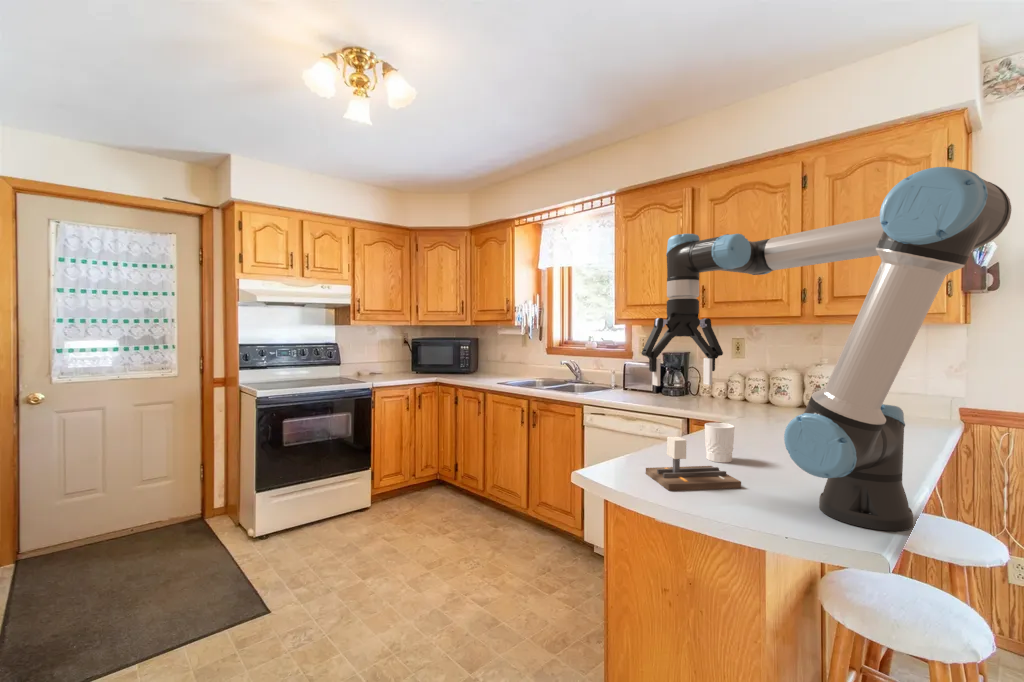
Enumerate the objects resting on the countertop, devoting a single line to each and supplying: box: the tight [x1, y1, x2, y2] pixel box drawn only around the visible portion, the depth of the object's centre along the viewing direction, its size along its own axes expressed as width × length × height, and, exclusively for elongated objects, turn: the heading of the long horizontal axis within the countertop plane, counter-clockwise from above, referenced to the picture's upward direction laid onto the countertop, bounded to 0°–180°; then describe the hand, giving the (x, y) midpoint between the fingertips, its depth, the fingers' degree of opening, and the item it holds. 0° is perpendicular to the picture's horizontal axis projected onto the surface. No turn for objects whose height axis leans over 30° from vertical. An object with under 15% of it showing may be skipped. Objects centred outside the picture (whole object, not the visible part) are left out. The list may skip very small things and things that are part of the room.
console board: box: [645, 465, 742, 492], centre depth 117 cm, size 13×18×2 cm
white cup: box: [704, 422, 736, 464], centre depth 136 cm, size 8×8×10 cm
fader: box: [666, 436, 687, 473], centre depth 117 cm, size 4×3×8 cm
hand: (682, 385), depth 117 cm, fingers open, 13 cm apart
